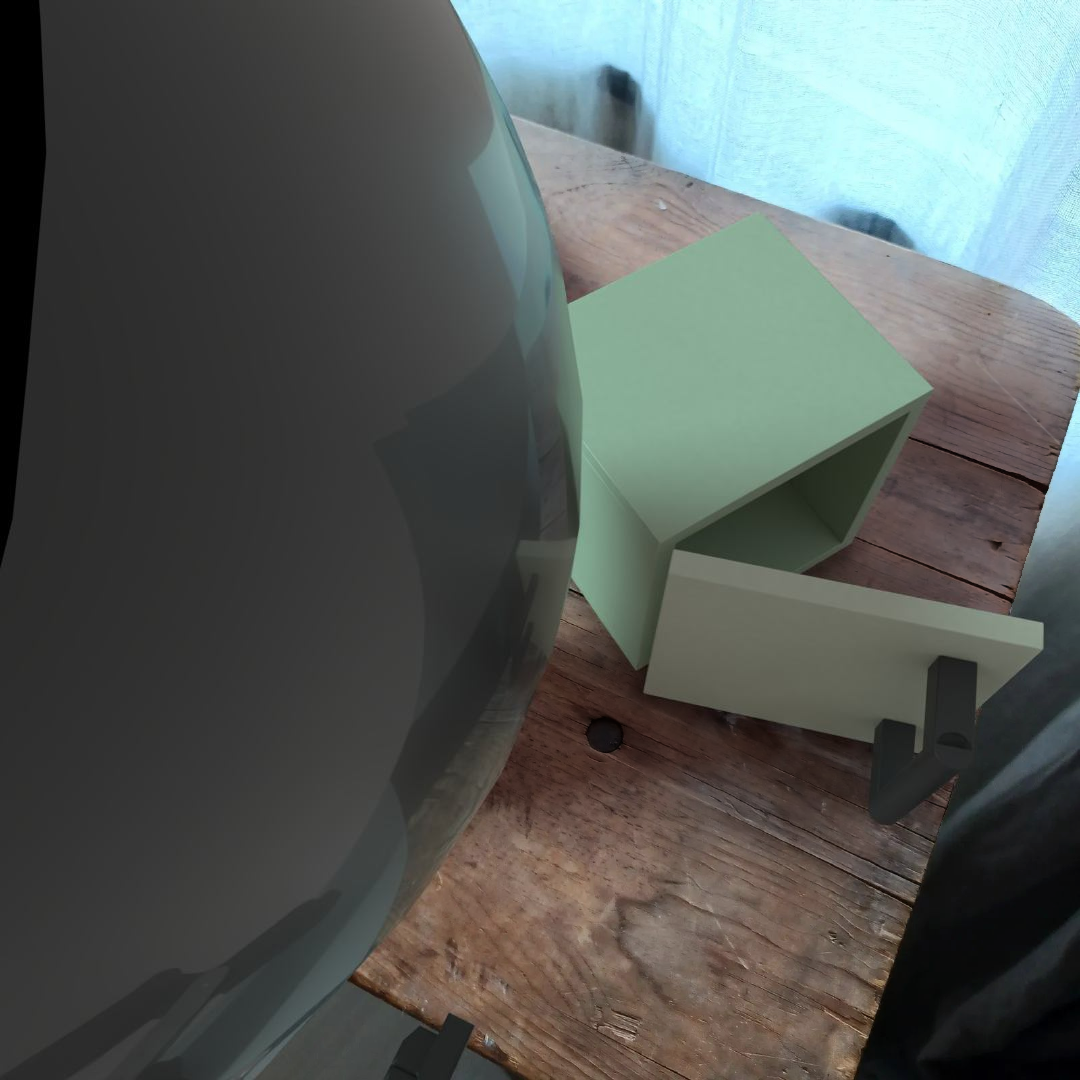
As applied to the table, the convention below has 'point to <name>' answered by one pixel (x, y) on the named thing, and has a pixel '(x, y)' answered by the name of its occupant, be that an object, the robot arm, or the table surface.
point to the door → (838, 665)
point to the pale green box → (727, 420)
